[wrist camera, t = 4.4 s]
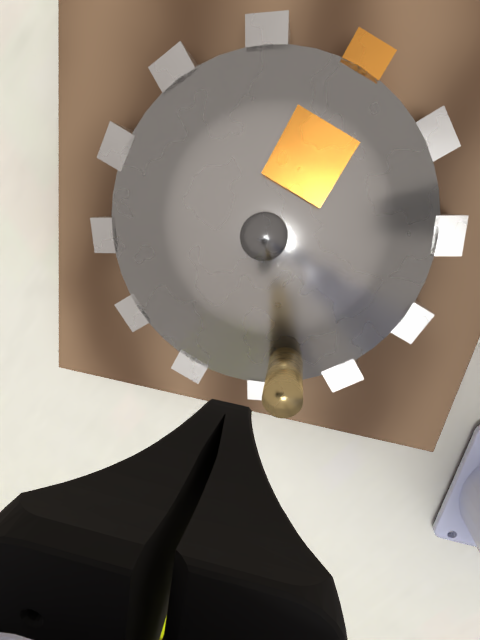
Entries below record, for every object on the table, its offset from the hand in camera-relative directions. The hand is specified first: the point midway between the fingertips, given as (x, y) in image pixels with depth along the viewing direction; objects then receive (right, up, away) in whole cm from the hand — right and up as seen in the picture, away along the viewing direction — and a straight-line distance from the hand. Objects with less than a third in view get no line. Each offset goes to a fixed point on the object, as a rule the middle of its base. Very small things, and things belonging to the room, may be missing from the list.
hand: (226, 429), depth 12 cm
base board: (+2, +8, +7) cm, 11 cm away
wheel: (+2, +8, +6) cm, 10 cm away
